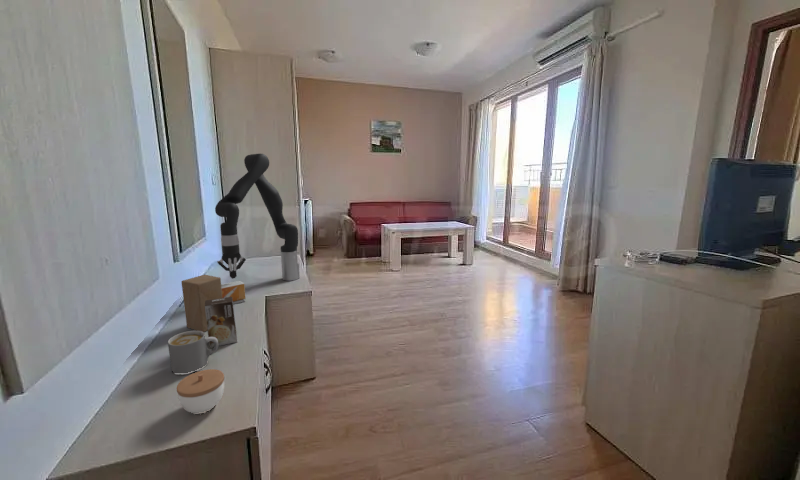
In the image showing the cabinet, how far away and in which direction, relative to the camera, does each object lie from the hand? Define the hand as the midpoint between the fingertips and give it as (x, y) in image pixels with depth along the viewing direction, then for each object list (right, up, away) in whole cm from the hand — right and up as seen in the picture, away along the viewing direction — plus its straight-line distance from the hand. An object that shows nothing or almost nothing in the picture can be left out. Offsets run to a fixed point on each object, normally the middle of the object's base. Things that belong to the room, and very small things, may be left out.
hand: (233, 278), depth 162 cm
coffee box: (+17, -19, -40) cm, 47 cm away
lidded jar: (+30, -26, -74) cm, 84 cm away
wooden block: (+3, -17, -27) cm, 32 cm away
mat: (-5, -11, -2) cm, 13 cm away
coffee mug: (+16, -22, -55) cm, 62 cm away
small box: (+3, -6, +3) cm, 8 cm away
